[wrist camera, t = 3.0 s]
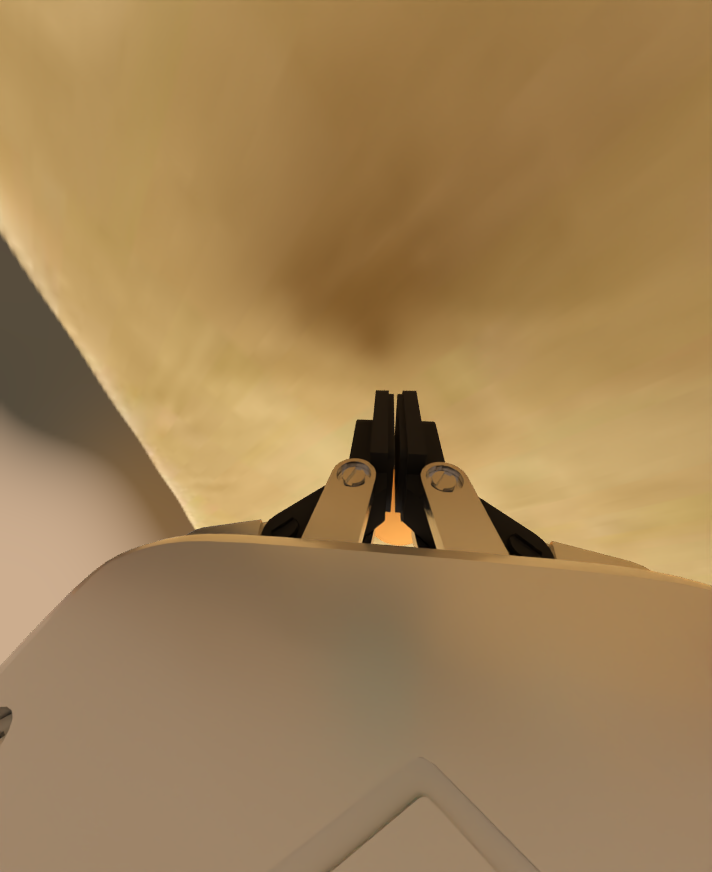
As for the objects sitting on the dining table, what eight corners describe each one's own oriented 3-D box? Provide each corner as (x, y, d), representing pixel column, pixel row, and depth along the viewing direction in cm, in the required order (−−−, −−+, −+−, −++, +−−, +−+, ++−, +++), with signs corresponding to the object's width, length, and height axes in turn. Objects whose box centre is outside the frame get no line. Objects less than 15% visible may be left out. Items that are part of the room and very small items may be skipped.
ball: (436, 456, 19) (447, 519, 15) (426, 502, 22) (433, 564, 18) (364, 452, 20) (354, 510, 15) (365, 497, 23) (357, 555, 19)
